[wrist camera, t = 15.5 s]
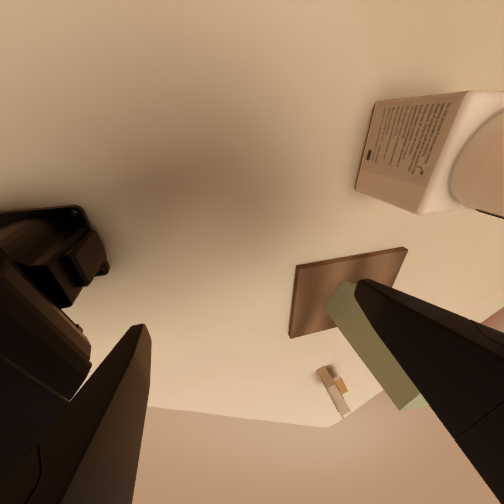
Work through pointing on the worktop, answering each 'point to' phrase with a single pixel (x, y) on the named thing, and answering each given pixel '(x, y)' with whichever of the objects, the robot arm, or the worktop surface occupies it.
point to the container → (437, 153)
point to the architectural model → (334, 390)
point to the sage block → (372, 348)
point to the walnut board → (336, 285)
